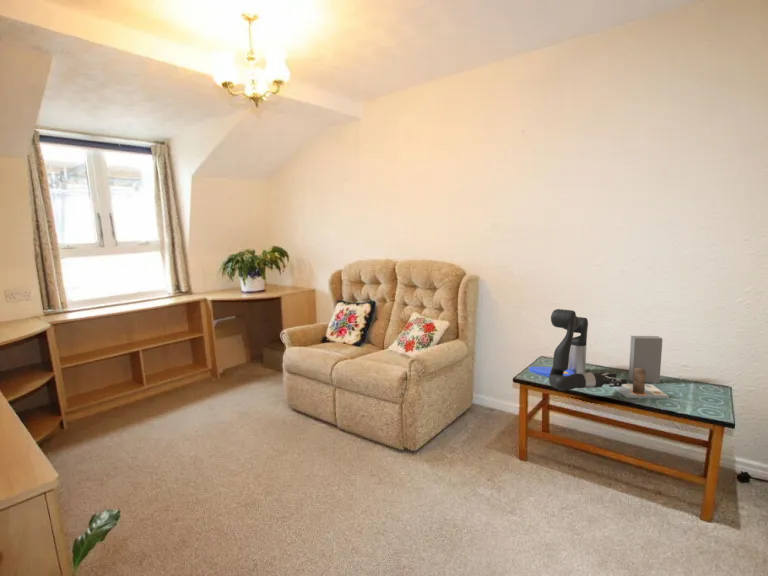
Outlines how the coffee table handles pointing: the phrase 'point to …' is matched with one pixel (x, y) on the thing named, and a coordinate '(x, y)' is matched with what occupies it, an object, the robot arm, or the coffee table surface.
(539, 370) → the location marker
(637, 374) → the brown upright cylinder
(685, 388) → the coffee table surface
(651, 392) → the board
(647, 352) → the tall grey upright box
